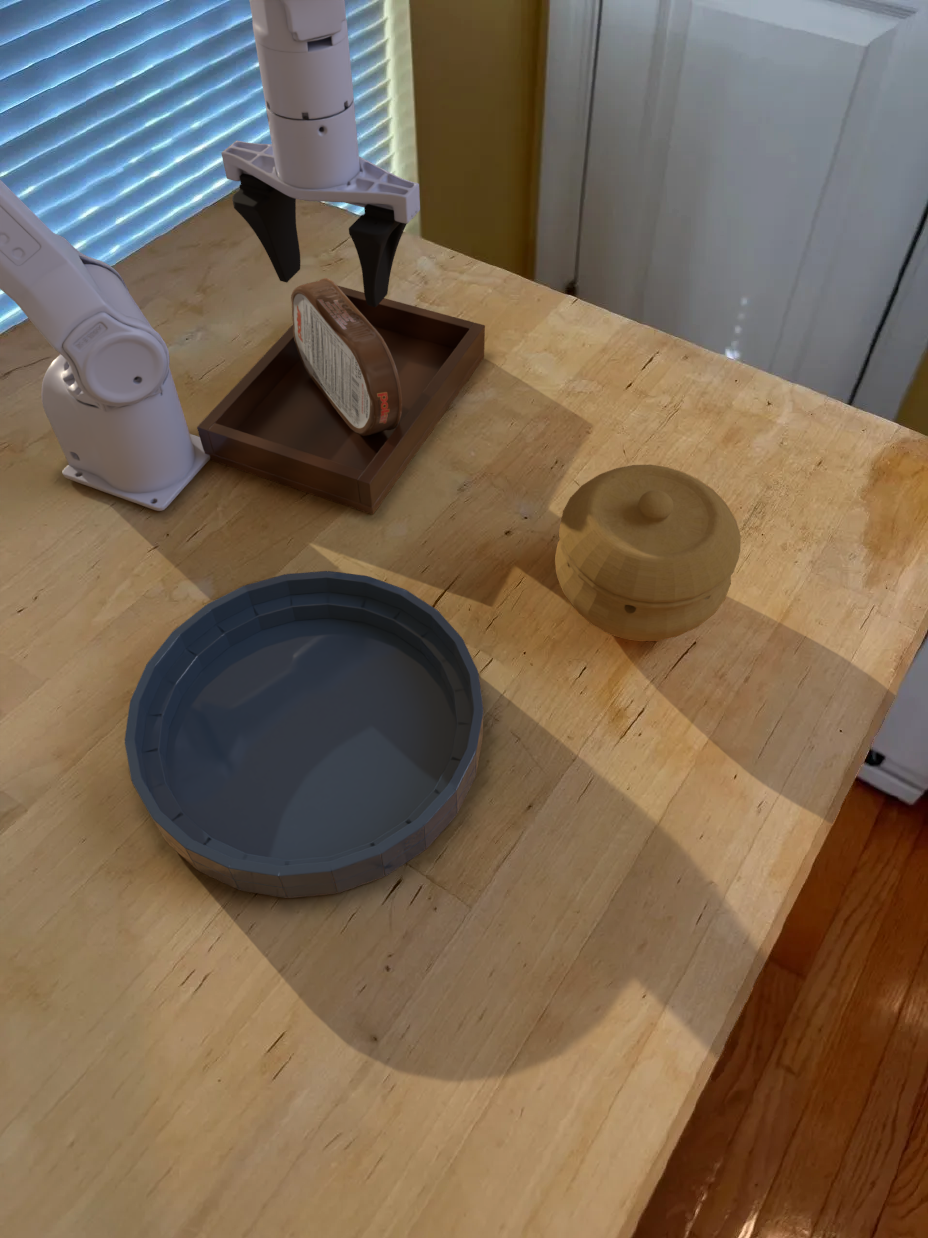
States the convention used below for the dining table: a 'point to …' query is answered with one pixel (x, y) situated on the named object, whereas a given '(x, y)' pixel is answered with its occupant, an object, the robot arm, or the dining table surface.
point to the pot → (646, 552)
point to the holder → (315, 432)
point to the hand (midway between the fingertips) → (333, 286)
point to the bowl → (306, 733)
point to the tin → (346, 357)
